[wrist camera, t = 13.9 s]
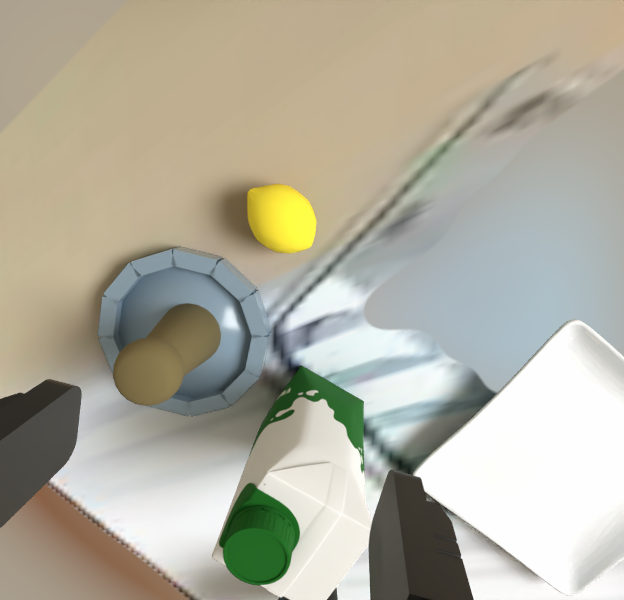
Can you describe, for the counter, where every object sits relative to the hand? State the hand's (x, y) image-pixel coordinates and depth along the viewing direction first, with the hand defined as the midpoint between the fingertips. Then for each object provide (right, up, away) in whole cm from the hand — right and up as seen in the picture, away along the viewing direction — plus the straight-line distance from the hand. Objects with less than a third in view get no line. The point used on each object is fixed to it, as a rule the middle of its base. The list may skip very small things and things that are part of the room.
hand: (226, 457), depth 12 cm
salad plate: (+26, -11, +34) cm, 44 cm away
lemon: (0, +12, +30) cm, 32 cm away
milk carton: (+3, -7, +35) cm, 35 cm away
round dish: (-10, +1, +33) cm, 35 cm away
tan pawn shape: (-10, +1, +33) cm, 34 cm away
